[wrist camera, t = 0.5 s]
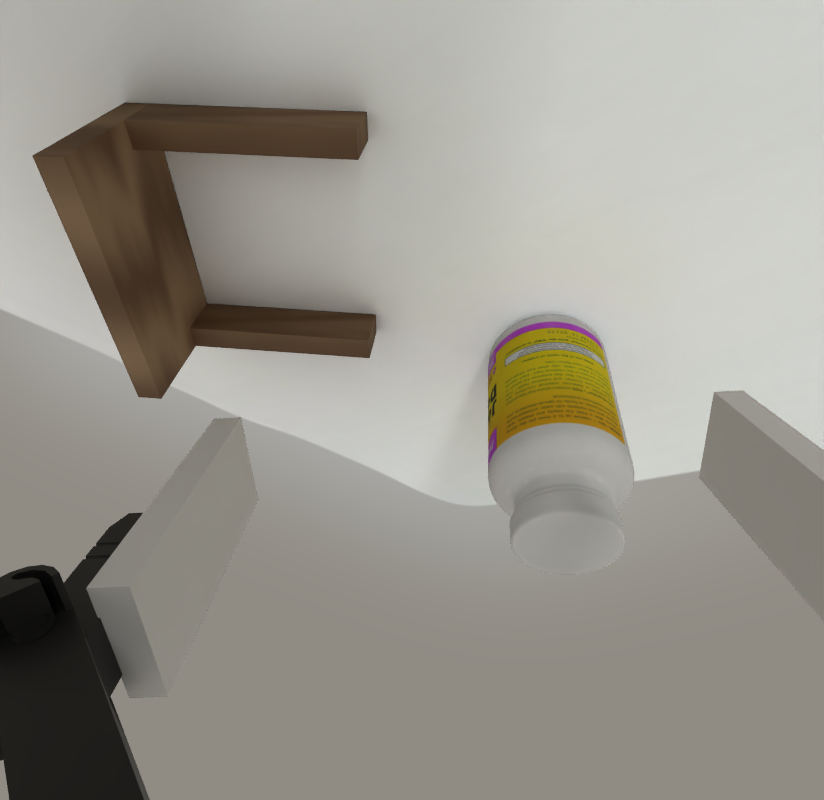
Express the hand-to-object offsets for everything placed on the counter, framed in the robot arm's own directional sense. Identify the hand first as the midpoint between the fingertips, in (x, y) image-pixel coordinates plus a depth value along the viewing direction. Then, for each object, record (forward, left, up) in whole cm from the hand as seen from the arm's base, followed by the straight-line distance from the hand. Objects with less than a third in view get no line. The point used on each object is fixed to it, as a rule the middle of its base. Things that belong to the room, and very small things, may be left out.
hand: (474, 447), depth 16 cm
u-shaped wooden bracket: (+2, -11, -16) cm, 19 cm away
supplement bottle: (+9, +4, -16) cm, 19 cm away
